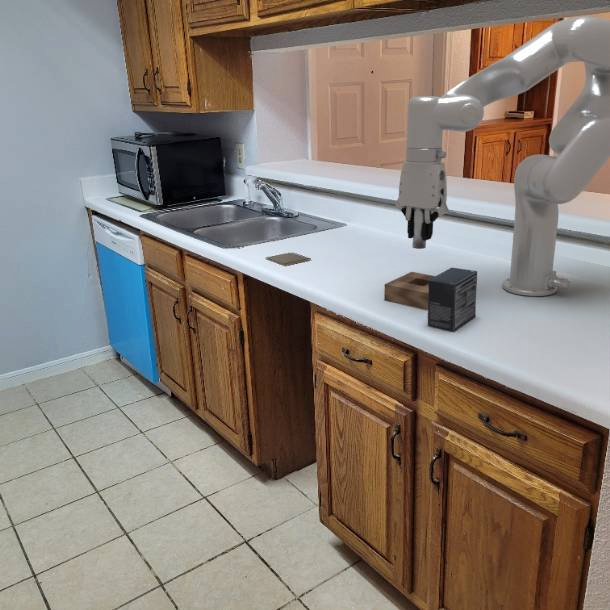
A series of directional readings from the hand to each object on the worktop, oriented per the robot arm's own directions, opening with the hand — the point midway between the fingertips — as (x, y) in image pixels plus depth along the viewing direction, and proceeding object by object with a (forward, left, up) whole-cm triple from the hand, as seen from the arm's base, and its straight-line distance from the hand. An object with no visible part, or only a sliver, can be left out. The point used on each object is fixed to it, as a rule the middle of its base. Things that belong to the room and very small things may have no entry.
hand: (419, 237), depth 138 cm
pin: (0, 0, -2) cm, 2 cm away
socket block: (0, 0, -15) cm, 15 cm away
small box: (-13, +9, -15) cm, 22 cm away
